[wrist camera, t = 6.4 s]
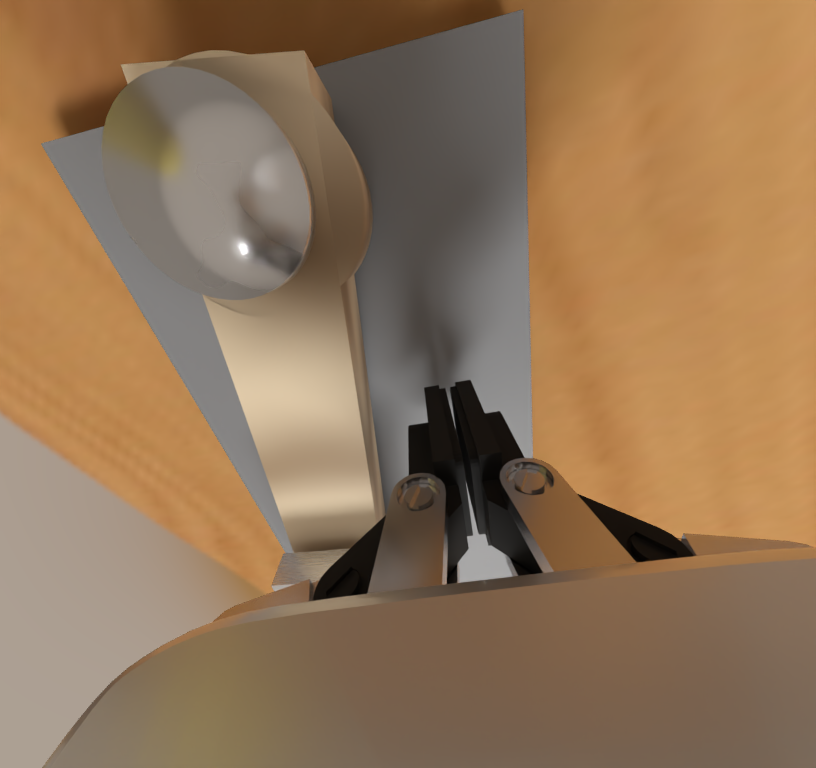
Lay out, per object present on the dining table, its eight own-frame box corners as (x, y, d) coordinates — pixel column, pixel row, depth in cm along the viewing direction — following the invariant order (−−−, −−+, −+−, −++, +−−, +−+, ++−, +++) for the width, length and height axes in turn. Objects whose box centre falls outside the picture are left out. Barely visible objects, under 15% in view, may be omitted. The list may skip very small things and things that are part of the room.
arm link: (165, 105, 8) (77, 60, 6) (361, 91, 8) (344, 39, 6) (311, 561, 17) (296, 609, 14) (405, 556, 17) (405, 605, 14)
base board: (75, 151, 9) (40, 143, 9) (510, 33, 8) (523, 9, 7) (327, 600, 21) (323, 616, 20) (529, 574, 19) (535, 590, 19)
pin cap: (120, 124, 6) (53, 99, 5) (290, 76, 6) (261, 38, 5) (207, 302, 8) (172, 315, 7) (345, 272, 7) (333, 280, 6)
